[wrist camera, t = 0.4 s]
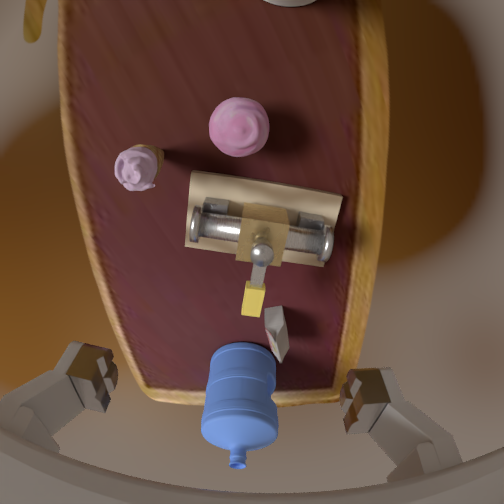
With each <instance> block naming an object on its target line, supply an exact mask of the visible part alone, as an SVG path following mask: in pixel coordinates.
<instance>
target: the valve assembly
mask: <svg viewBox="0 0 504 504" xmlns="http://www.w3.org/2000/svg"><path fill="white" fill-rule="evenodd" d="M342 198H343V197H342V195H341V194H337V193H332V192H327V191H322V190H316V189H311V188H306V187H300V186H295V185H289V184H284V183H278V182H272V181H266V180H260V179H253V178H247V177H240V176H233V175H226V174H219V173H212V172H204V171H196V170H193V171H192V172H191V180H190V190H189V201H188V213H187V225H186V239H185V246H186V247H192V248H199V249H205V250H212V251H219V252H225V253H232V254H236V260H240V261H246V262H252V261H251V257H250V256H251V246H252V245H253V243H254V242H256V241H258V240H266V241H269V242H270V243H271V244H272V246H273V251H274V259H273V261H272V263H271V264H269V265H274V266H281V262H282V261H286V262H293V263H300V264H307V265H313V266H320V267H323V266H324V263H325V262H327V261H328V260H329V258H330V255H331V253H332V249H333V243H334V228H335V224H336V221H337V217H338V213H339V209H340V206H341V202H342Z"/></svg>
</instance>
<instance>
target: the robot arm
mask: <svg viewBox="0 0 504 504" xmlns="http://www.w3.org/2000/svg"><path fill="white" fill-rule="evenodd" d="M264 1H266V2H269V3H272V4H275V5H279V6H287V7H295V6H302V5H306V4H309V3H312V2H314V1H316V0H264ZM113 357H114V356H113V353H112V350H111V349H108V348H103V347H99V346H95V345H90V344H86V343H82V342H77V341H73V342H71V343H70V344H69V346H68V347H67V349H66V351H65V352H64V354H63V355H62V357H61V359H60V360H59V362H58V364H57V365H56V367H55V368H54V370H53V371H51V370H50V371H47V372H46V373H44V374H42V375H40V376H38V377H37V378H35V379H33V380H31V381H29V382H28V383H26V384H24V385H22V386H20V387H19V388H17V389H15V390H13V391H11V392H9V393H8V394H6V395H4V396H3V398H2V399H1V401H0V504H504V447H502V448H500V449H497V450H495V451H493V452H490V453H488V454H485V455H483V456H480V457H477V458H475V459H472V460H469V461H466V462H462V459H461V456H460V454H459V451H458V448H457V446H456V443H455V441H454V439H453V436H452V435H451V434H450V433H449V432H447V431H446V430H445V429H444V428H442V427H441V426H440V425H438V424H437V423H436V422H435V421H433V420H432V419H431V418H430V417H428V416H427V415H426V414H425V413H423V412H422V411H421V410H419V409H418V408H417V407H416V406H414V405H413V404H412V403H411V402H409V401H405V400H404V397H403V394H402V392H401V389H400V387H399V384H398V382H397V379H396V377H395V375H394V372H393V370H392V369H391V368H390V367H386V368H364V369H350V370H349V372H348V374H347V380H348V381H347V382H346V383H344V384H343V386H342V388H341V391H340V406H341V410H343V411H344V412H345V413H346V415H345V417H344V419H343V421H344V426H345V430H346V434H357V433H358V434H359V433H368V434H369V435H370V436H371V438H372V439H373V440H374V441H375V442H376V443H377V444H378V445H379V447H380V448H381V449H382V450H383V451H384V452H385V453H386V454H387V455H388V456H389V458H390V459H391V460H392V461H393V462H394V463H395V464H396V465H397V467H396V468H395V469H394V470H393V471H392V472H391V473H390V474H389V475H388V476H387V482H388V483H384V484H378V485H372V486H365V487H359V488H351V489H343V490H333V491H322V492H307V493H244V492H228V491H216V490H207V489H198V488H191V487H184V486H177V485H171V484H165V483H160V482H155V481H150V480H145V479H141V478H137V477H132V476H128V475H125V474H121V473H117V472H113V471H109V470H106V469H103V468H99V467H96V466H93V465H90V464H87V463H84V462H81V461H78V460H75V459H72V458H69V457H67V456H64V455H61V454H59V450H60V447H59V445H58V444H57V443H56V441H55V440H54V439H53V437H52V436H53V435H54V434H55V433H56V432H58V431H59V430H60V429H61V428H62V427H64V426H65V425H66V424H67V423H69V422H70V421H71V420H72V419H74V418H75V417H76V416H77V415H78V414H80V413H81V412H82V411H83V410H84V408H86V409H90V410H94V411H98V412H102V413H105V412H106V410H107V407H108V405H109V403H110V400H111V398H110V395H109V393H111V392H112V391H114V389H115V387H116V385H117V380H118V369H117V366H116V364H114V362H113V361H112V359H113Z"/></svg>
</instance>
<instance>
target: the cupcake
mask: <svg viewBox="0 0 504 504" xmlns="http://www.w3.org/2000/svg"><path fill="white" fill-rule="evenodd" d="M209 133H210V138H211V140H212V142H213V143H214V144H215V145H216V146H217V147H218V148H219V149H220V150H221V151H222V152H223V153H225V154H227V155H230V156H234V157H243V156H248V155H250V154H253V153H255V152H257V151H259V150H260V149H261V148H262V147H263V146H264V145H265V143H266V141H267V139H268V135H269V120H268V116H267V114H266V112H265V110H264V108H263V107H262V105H261V104H259V103H258V102H256V101H254V100H252V99H248V98H238V97H234V98H230V99H227V100H225V101H224V102H222V103H221V104H219V105H218V106H217V107H216V109H215V110H214V112H213V114H212V116H211V118H210V122H209Z"/></svg>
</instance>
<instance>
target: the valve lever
mask: <svg viewBox="0 0 504 504" xmlns="http://www.w3.org/2000/svg"><path fill="white" fill-rule="evenodd" d="M250 257H251V261H252V262H253V269H252V274H251V280H250V281H247V282H246V287H245V293H244V299H243V304H242V314H241V315H247V316H255V317H260V312H261V308H262V303H263V299H264V294H265V283H263V280H264V275H265V270H266V266H268V265H269V264H271V263H272V261H273V259H274V251H273V246H272V244H271V243H270V242H269V241H266V240H258V241H256V242H254V243H253V245H252V246H251V256H250Z"/></svg>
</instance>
